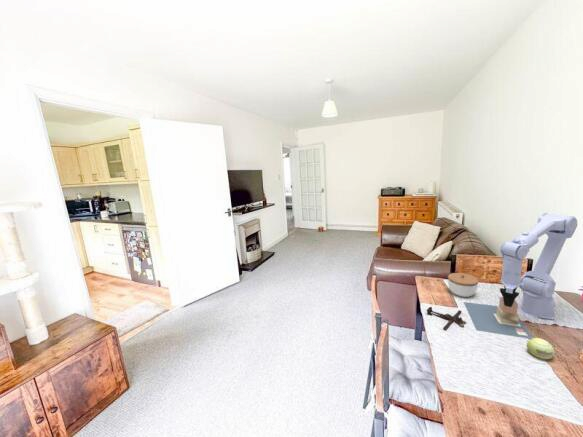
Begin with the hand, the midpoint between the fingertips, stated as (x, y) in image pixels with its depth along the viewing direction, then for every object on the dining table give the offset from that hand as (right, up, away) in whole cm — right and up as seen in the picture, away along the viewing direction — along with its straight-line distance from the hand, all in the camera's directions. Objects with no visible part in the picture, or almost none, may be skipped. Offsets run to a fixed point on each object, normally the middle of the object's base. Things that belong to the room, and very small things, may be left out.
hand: (508, 301), depth 100 cm
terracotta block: (0, -4, +1) cm, 4 cm away
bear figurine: (-22, -10, +6) cm, 25 cm away
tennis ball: (-4, -13, -17) cm, 22 cm away
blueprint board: (-3, -9, +3) cm, 10 cm away
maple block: (+1, -8, +1) cm, 8 cm away
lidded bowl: (-2, -5, +24) cm, 25 cm away
